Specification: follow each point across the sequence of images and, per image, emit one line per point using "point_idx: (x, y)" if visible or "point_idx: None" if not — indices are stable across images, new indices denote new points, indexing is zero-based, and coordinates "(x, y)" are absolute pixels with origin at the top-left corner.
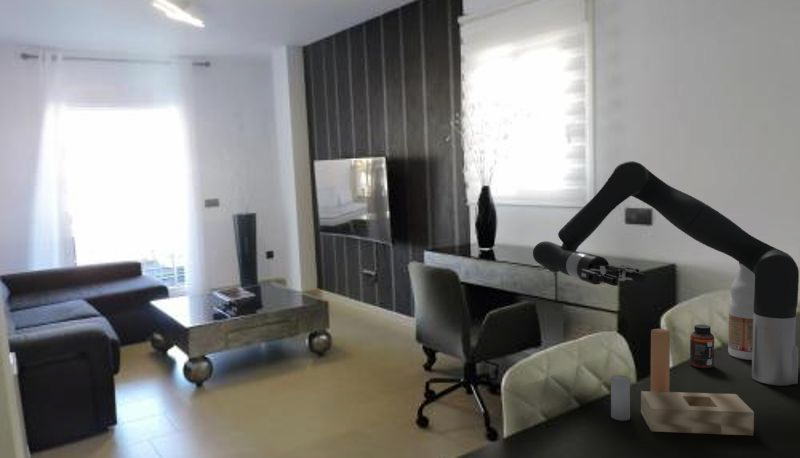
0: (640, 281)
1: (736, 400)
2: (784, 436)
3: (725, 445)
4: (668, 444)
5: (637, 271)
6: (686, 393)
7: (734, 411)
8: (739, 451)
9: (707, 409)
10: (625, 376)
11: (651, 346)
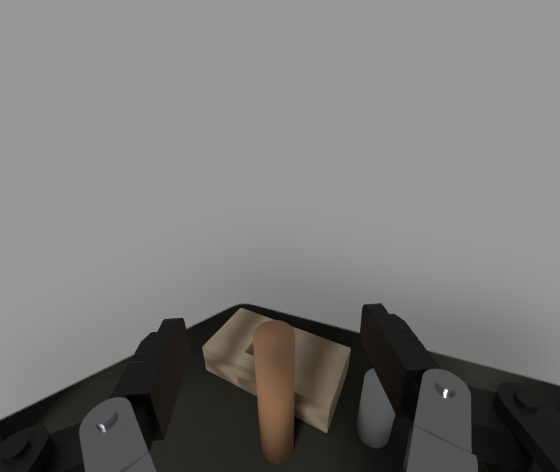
0: (185, 364)
1: (224, 332)
2: (217, 319)
3: (288, 323)
4: (344, 341)
5: (49, 439)
6: None
7: (257, 314)
8: (285, 313)
9: None
10: (368, 387)
11: (293, 368)
